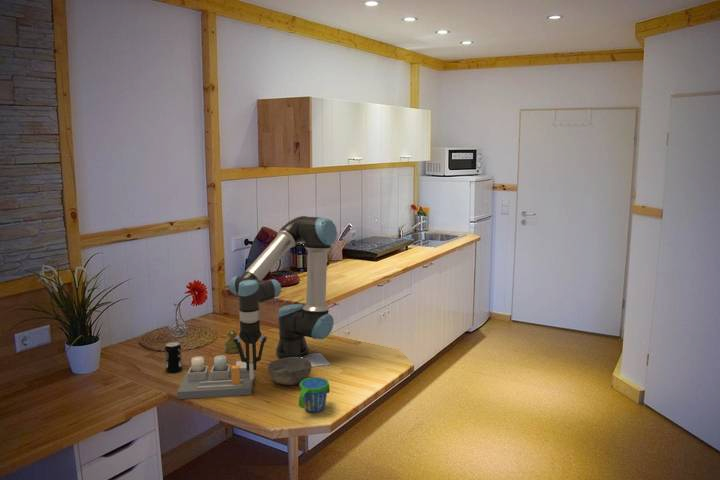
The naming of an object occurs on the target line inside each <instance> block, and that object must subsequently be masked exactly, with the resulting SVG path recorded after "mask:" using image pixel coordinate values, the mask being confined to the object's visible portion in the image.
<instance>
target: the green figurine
mask: <svg viewBox="0 0 720 480" xmlns="http://www.w3.org/2000/svg"><path fill="white" fill-rule="evenodd" d="M226 335H227V336H228V339H227V340H225V342H224V352H225V353H227V354H236V353H239V351H238V348H237V345H236V343H235V342H234V338H235V337H237V335H239V334H238V331H236V330H233V329H231V330H229V331H227V333H226ZM241 341H242V340H240V343H241V344H242V342H241Z"/></svg>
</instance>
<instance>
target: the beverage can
mask: <svg viewBox="0 0 720 480" xmlns="http://www.w3.org/2000/svg"><path fill="white" fill-rule="evenodd" d="M164 354H165V355H164V356H165V370H166V372H168V373H171V374H175V373H178V372H180V371H182V369H183V361H182V347H181V344H180V342H179V341H170V342H168V343H165V347H164Z"/></svg>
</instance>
